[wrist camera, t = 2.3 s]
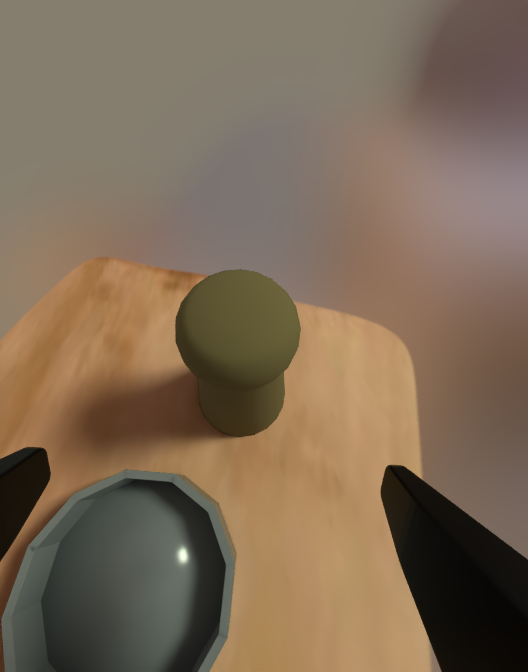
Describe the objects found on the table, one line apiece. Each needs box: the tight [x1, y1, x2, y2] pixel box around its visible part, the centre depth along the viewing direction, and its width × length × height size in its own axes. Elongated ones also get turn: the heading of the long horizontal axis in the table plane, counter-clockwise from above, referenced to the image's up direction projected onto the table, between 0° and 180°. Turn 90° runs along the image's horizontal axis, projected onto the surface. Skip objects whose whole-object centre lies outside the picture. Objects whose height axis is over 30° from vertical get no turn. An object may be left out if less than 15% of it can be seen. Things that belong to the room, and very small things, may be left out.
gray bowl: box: [1, 470, 236, 672], centre depth 15 cm, size 10×10×2 cm
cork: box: [175, 269, 301, 437], centre depth 16 cm, size 6×6×11 cm
